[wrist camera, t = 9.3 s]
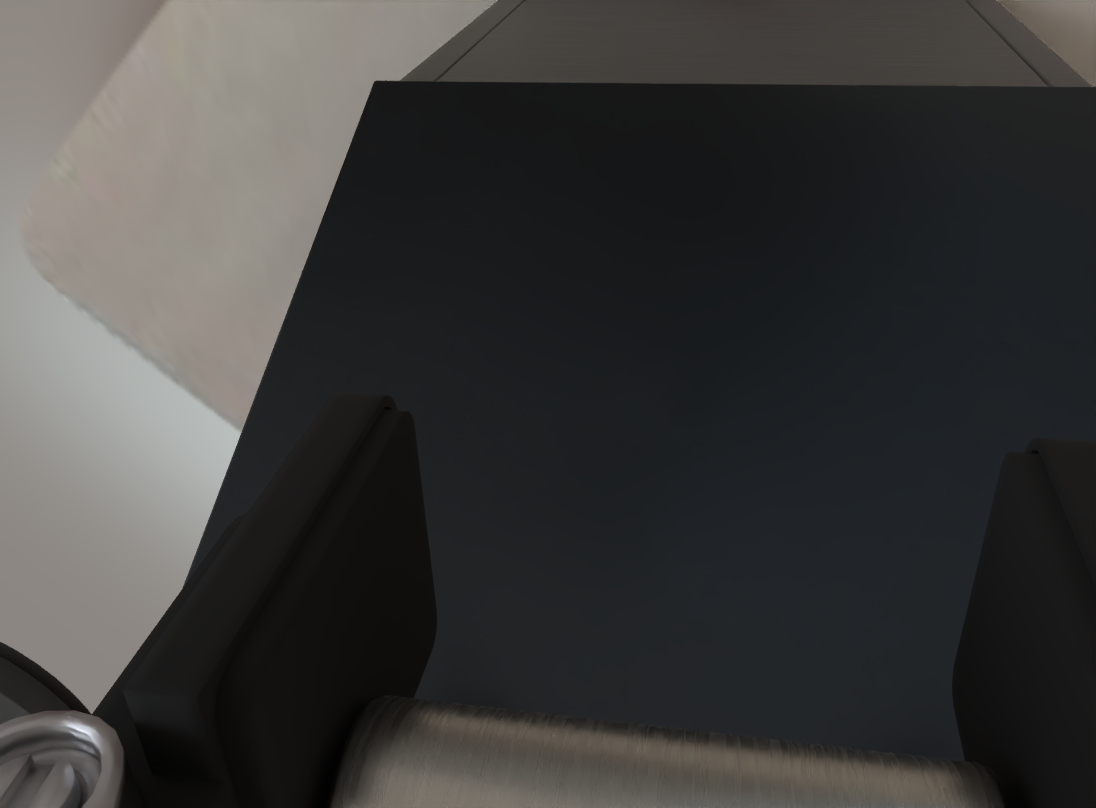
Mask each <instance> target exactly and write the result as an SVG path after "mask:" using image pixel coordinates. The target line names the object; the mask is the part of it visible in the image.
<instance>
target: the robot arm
mask: <svg viewBox="0 0 1096 808" xmlns="http://www.w3.org/2000/svg"><path fill="white" fill-rule="evenodd" d="M436 630H437V608H436V599H435V591H434V583H433V574H432V566H431V558H430V549H429V541H428V533H427V524H426V516H425V508H424V499H423V491H422V483H421V474H420V466H419V457H418V449H417V441H416V432H415V425H414V420H413V417H412V415H411V413H410V412H409V411H397V407H396V404H395V402H394V400H393V398H391V397H390V396H387V395H371V394H356V393H340V392H338V393H333V394H332V395H331V396H330V397H329V398H328V400H327V401H326V403H325V404H324V405H323V407H322V408H321V410H320V411H319V412H318V414H317V415H316V417H315V418H314V420H313V421H312V422H311V424H310V425H309V427H308V428H307V429H306V431H305V432H304V434H303V435H302V437H301V438H300V439H299V441H298V442H297V444H296V445H295V446H294V448H293V449H292V451H291V452H290V453H289V455H288V456H287V458H286V459H285V461H284V462H283V463H282V465H281V466H280V468H279V469H278V470H277V472H276V473H275V475H274V476H273V477H272V479H271V480H270V482H269V483H268V485H267V486H266V487H265V489H264V490H263V492H262V493H261V494H260V496H259V497H258V499H257V500H256V502H255V503H254V504H253V506H252V507H251V509H250V510H249V511H248V513H246V514H244V515H241V516H238V517H236V518H235V520H234V521H233V522H232V523H231V524H230V525H229V526H228V527H227V528H226V529H225V531H224V532H223V534H222V535H221V536H220V538H219V539H218V540H217V542H216V543H215V545H214V546H213V547H212V549H211V550H210V552H209V553H208V554H207V556H206V557H205V559H204V560H203V561H202V563H201V564H200V565H199V567H198V568H197V570H196V571H195V572H194V574H193V575H192V577H191V578H190V579H189V581H188V582H187V583H186V585H185V586H184V588H183V589H182V590H181V592H180V593H179V595H178V596H177V597H176V599H175V600H174V601H173V603H172V604H171V606H170V607H169V608H168V610H167V611H166V613H165V614H164V615H163V617H162V618H161V620H160V621H159V622H158V624H157V625H156V626H155V628H154V629H153V631H152V632H151V634H150V635H149V636H148V638H147V639H146V640H145V642H144V643H143V645H142V646H141V647H140V649H139V650H138V651H137V653H136V654H135V656H134V657H133V658H132V660H131V661H130V662H129V664H128V665H127V667H126V668H125V669H124V671H123V672H122V674H121V675H120V677H119V678H118V679H117V681H116V682H115V683H114V685H113V686H112V687H111V689H110V690H109V692H108V693H107V695H106V696H105V697H104V699H103V700H102V701H101V703H100V704H99V705H98V707H97V708H96V710H95V711H94V712H93V714H92V715H89V714H85V713H82V712H78V711H75V710H71V711H43V712H39V713H35V714H30V715H26V716H22V717H18V718H14V719H12V720H9V721H7V722H5V723H3V724H0V808H324V807H325V802H326V798H327V794H328V790H329V786H330V782H331V779H332V775H333V772H334V769H335V766H336V763H337V760H338V757H339V754H340V752H341V749H342V747H343V744H344V741H345V739H346V737H347V735H348V733H349V730H350V728H351V726H352V725H353V723H354V721H355V719H356V717H357V716H358V714H359V713H360V711H361V710H362V709H363V708H364V706H365V705H366V704H367V703H368V702H370V701H371V700H372V699H375V698H377V697H380V696H383V695H388V696H397V697H406V698H414V697H415V694H416V691H417V689H418V686H419V684H420V681H421V678H422V676H423V673H424V670H425V668H426V665H427V663H428V660H429V657H430V655H431V652H432V649H433V646H434V642H435V637H436ZM952 697H953V705H954V711H955V716H956V721H957V725H958V730H959V735H960V740H961V745H962V750H963V754H964V759H965V761H967V762H976V763H980V764H982V765H984V766H986V767H988V768H989V769H990V770H992V771H993V773H994V774H995V775H996V776H997V778H998V780H999V782H1000V784H1001V786H1002V788H1003V790H1004V793H1005V795H1006V798H1007V801H1008V804H1009V807H1010V808H1096V441H1082V440H1067V439H1051V438H1036V437H1035V438H1034V439H1032V440H1031V441H1030V442H1029V444H1028V446H1027V448H1026V451H1025V453H1021V452H1008V453H1007V454H1006V455H1005V457H1004V459H1003V462H1002V465H1001V469H1000V473H999V478H998V482H997V486H996V490H995V494H994V499H993V503H992V507H991V511H990V515H989V520H988V524H987V528H986V532H985V536H984V541H983V545H982V549H981V553H980V558H979V562H978V566H977V570H976V574H975V579H974V583H973V587H972V591H971V595H970V600H969V604H968V608H967V612H966V616H965V621H964V625H963V629H962V633H961V637H960V642H959V646H958V650H957V654H956V659H955V663H954V668H953V677H952Z"/></svg>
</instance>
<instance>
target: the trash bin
mask: <svg viewBox="0 0 1096 808" xmlns="http://www.w3.org/2000/svg"><path fill="white" fill-rule="evenodd" d="M400 81H477V82H596V83H715V84H834V85H953V86H1072V87H1092V86H1091V85H1090V84H1089V83H1088V82H1087V81H1086V80H1084V79H1083V78H1082V77H1081V76H1080V75H1079V74H1078V73H1077V72H1075V71H1074V70H1073V69H1072V68H1071V67H1070V66H1069V65H1068V64H1067V63H1065V62H1064V61H1063V60H1062V59H1061V58H1060V57H1059V56H1058V55H1056V54H1055V53H1054V52H1053V51H1052V50H1051V49H1050V48H1049V47H1048V46H1046V45H1045V44H1044V43H1043V42H1042V41H1041V40H1040V39H1039V38H1037V37H1036V36H1035V35H1034V34H1033V33H1032V32H1031V31H1030V30H1029V29H1027V28H1026V27H1025V26H1024V25H1023V24H1022V23H1021V22H1020V21H1018V20H1017V19H1016V18H1015V17H1014V16H1013V15H1012V14H1011V13H1010V12H1008V11H1007V10H1006V9H1005V8H1004V7H1003V6H1002V5H1001V4H999V3H998V2H997V1H996V0H498V1H497V2H496V3H495V4H493V5H492V6H491V7H490V8H489V9H487V10H486V11H485V12H484V13H482V14H481V15H480V16H479V17H477V18H476V19H475V20H474V21H473V22H471V23H470V24H469V25H468V26H466V27H465V28H464V29H463V30H462V31H460V32H459V33H458V34H457V35H455V36H454V37H453V38H452V39H450V40H449V41H448V42H447V43H446V44H444V45H443V46H442V47H441V48H439V49H438V50H437V51H436V52H434V53H433V54H432V55H431V56H430V57H428V58H427V59H426V60H425V61H423V62H422V63H421V64H420V65H418V66H417V67H416V68H415V69H414V70H412V71H411V72H410V73H409V74H407V75H406V76H405V77H404V78H402V79H401V80H400Z"/></svg>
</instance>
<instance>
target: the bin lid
mask: <svg viewBox="0 0 1096 808" xmlns="http://www.w3.org/2000/svg"><path fill="white" fill-rule="evenodd" d="M338 392H340V393H356V394H371V395H387V396H390V397H391V398H393V400H394V402H395V404H396V407H397V411H409V412H410V413H411V415H412V417H413V420H414V425H415V432H416V441H417V449H418V457H419V466H420V474H421V483H422V491H423V499H424V508H425V516H426V524H427V533H428V541H429V549H430V558H431V566H432V574H433V583H434V591H435V599H436V608H437V630H436V637H435V642H434V646H433V649H432V652H431V655H430V657H429V660H428V663H427V665H426V668H425V670H424V673H423V676H422V678H421V681H420V684H419V686H418V689H417V691H416V694H415V697H414V698H406V697H397V696H388V695H383V696H380V697H377V698H375V699H372V700H371V701H370V702H368V703H367V704H366V705H365V706H364V708H363V709H362V710H361V711H360V713H359V714H358V716H357V717H356V719H355V721H354V723H353V725H352V726H351V728H350V730H349V733H348V735H347V737H346V739H345V741H344V744H343V747H342V749H341V752H340V754H339V757H338V760H337V763H336V766H335V769H334V772H333V775H332V779H331V782H330V786H329V790H328V794H327V798H326V802H325V807H324V808H1010V807H1009V804H1008V801H1007V798H1006V795H1005V793H1004V790H1003V788H1002V786H1001V784H1000V782H999V780H998V778H997V776H996V775H995V774H994V773H993V771H992V770H990V769H989V768H988V767H986V766H984V765H982V764H980V763H976V762H967V761H965V759H964V754H963V750H962V745H961V740H960V735H959V730H958V725H957V721H956V716H955V711H954V705H953V697H952V677H953V668H954V663H955V659H956V654H957V650H958V646H959V642H960V637H961V633H962V629H963V625H964V621H965V616H966V612H967V608H968V604H969V600H970V595H971V591H972V587H973V583H974V579H975V574H976V570H977V566H978V562H979V558H980V553H981V549H982V545H983V541H984V536H985V532H986V528H987V524H988V520H989V515H990V511H991V507H992V503H993V499H994V494H995V490H996V486H997V482H998V478H999V473H1000V469H1001V465H1002V462H1003V459H1004V457H1005V455H1006V454H1007V453H1008V452H1021V453H1025V451H1026V448H1027V446H1028V444H1029V442H1030V441H1031V440H1032V439H1034V438H1035V437H1036V438H1051V439H1067V440H1082V441H1096V87H1072V86H953V85H834V84H715V83H596V82H477V81H375V82H374V84H373V86H372V89H371V92H370V94H369V97H368V100H367V102H366V105H365V107H364V110H363V113H362V115H361V118H360V121H359V123H358V126H357V129H356V131H355V134H354V137H353V139H352V142H351V145H350V147H349V150H348V152H347V155H346V158H345V160H344V163H343V166H342V168H341V171H340V174H339V176H338V179H337V182H336V184H335V187H334V189H333V192H332V195H331V197H330V200H329V203H328V205H327V208H326V211H325V213H324V216H323V219H322V221H321V224H320V226H319V229H318V232H317V234H316V237H315V240H314V242H313V245H312V248H311V250H310V253H309V256H308V258H307V261H306V264H305V266H304V269H303V271H302V274H301V277H300V279H299V282H298V285H297V287H296V290H295V293H294V295H293V298H292V301H291V303H290V306H289V308H288V311H287V314H286V316H285V319H284V322H283V324H282V327H281V330H280V332H279V335H278V338H277V340H276V343H275V345H274V348H273V351H272V353H271V356H270V359H269V361H268V364H267V367H266V369H265V372H264V375H263V377H262V380H261V382H260V385H259V388H258V390H257V393H256V396H255V398H254V401H253V404H252V406H251V409H250V412H249V414H248V417H247V420H246V422H245V425H244V427H243V430H242V433H241V435H240V438H239V441H238V444H237V446H236V449H235V451H234V454H233V457H232V459H231V462H230V465H229V467H228V470H227V472H226V475H225V478H224V480H223V483H222V486H221V488H220V491H219V494H218V496H217V499H216V502H215V504H214V507H213V510H212V512H211V515H210V517H209V520H208V523H207V525H206V528H205V531H204V533H203V536H202V539H201V541H200V544H199V547H198V549H197V552H196V555H195V557H194V560H193V562H192V565H191V568H190V570H189V573H188V576H187V578H186V581H185V584H184V586H185V585H186V583H187V582H188V581H189V579H190V578H191V577H192V575H193V574H194V572H195V571H196V570H197V568H198V567H199V565H200V564H201V563H202V561H203V560H204V559H205V557H206V556H207V554H208V553H209V552H210V550H211V549H212V547H213V546H214V545H215V543H216V542H217V540H218V539H219V538H220V536H221V535H222V534H223V532H224V531H225V529H226V528H227V527H228V526H229V525H230V524H231V523H232V522H233V521H234V520H235V518H236V517H238V516H241V515H244V514H246V513H248V511H249V510H250V509H251V507H252V506H253V504H254V503H255V502H256V500H257V499H258V497H259V496H260V494H261V493H262V492H263V490H264V489H265V487H266V486H267V485H268V483H269V482H270V480H271V479H272V477H273V476H274V475H275V473H276V472H277V470H278V469H279V468H280V466H281V465H282V463H283V462H284V461H285V459H286V458H287V456H288V455H289V453H290V452H291V451H292V449H293V448H294V446H295V445H296V444H297V442H298V441H299V439H300V438H301V437H302V435H303V434H304V432H305V431H306V429H307V428H308V427H309V425H310V424H311V422H312V421H313V420H314V418H315V417H316V415H317V414H318V412H319V411H320V410H321V408H322V407H323V405H324V404H325V403H326V401H327V400H328V398H329V397H330V396H331V395H332V394H333V393H338ZM184 586H183V588H184Z"/></svg>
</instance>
